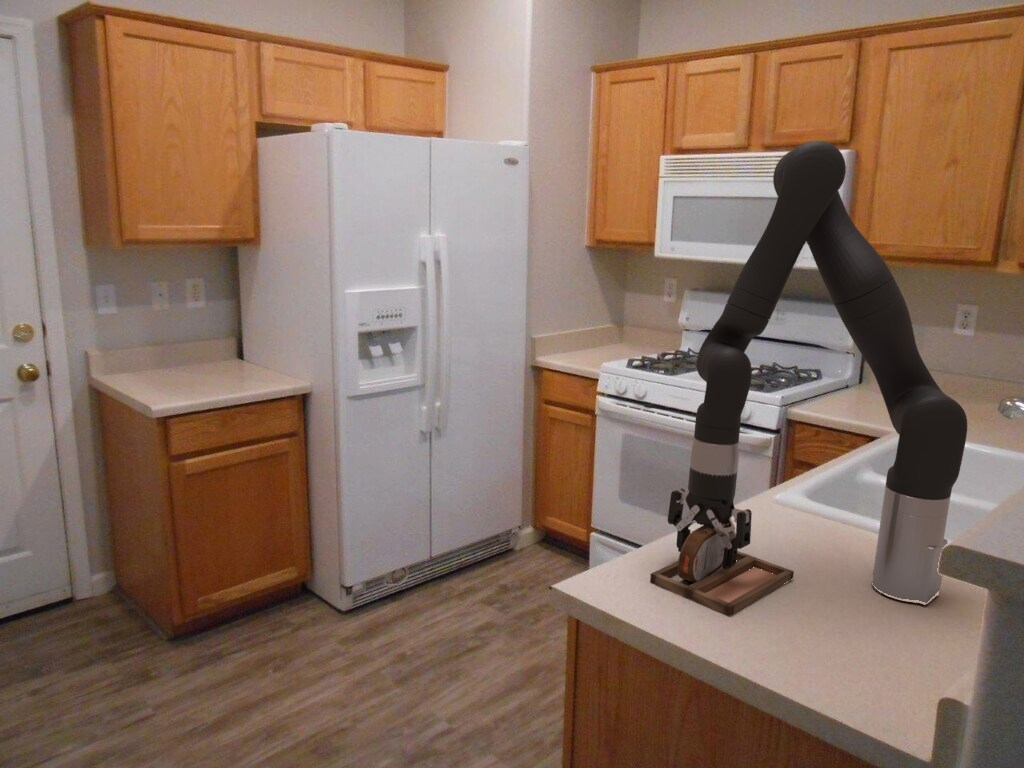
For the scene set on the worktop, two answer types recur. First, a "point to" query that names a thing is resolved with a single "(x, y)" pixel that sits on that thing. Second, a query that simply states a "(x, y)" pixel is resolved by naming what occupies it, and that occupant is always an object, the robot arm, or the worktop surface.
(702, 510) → the robot arm
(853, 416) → the worktop surface
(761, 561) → the rack
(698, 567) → the tin
